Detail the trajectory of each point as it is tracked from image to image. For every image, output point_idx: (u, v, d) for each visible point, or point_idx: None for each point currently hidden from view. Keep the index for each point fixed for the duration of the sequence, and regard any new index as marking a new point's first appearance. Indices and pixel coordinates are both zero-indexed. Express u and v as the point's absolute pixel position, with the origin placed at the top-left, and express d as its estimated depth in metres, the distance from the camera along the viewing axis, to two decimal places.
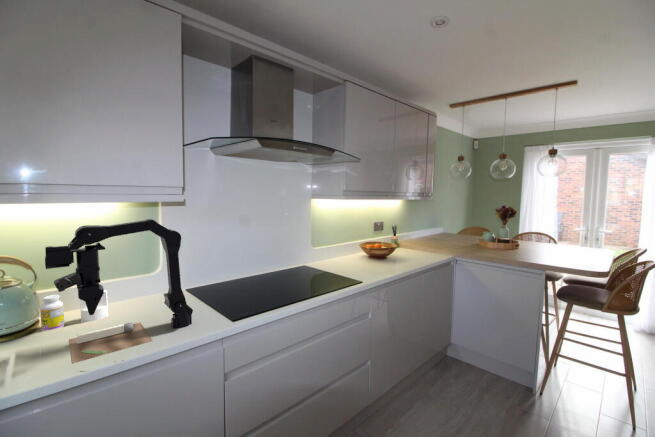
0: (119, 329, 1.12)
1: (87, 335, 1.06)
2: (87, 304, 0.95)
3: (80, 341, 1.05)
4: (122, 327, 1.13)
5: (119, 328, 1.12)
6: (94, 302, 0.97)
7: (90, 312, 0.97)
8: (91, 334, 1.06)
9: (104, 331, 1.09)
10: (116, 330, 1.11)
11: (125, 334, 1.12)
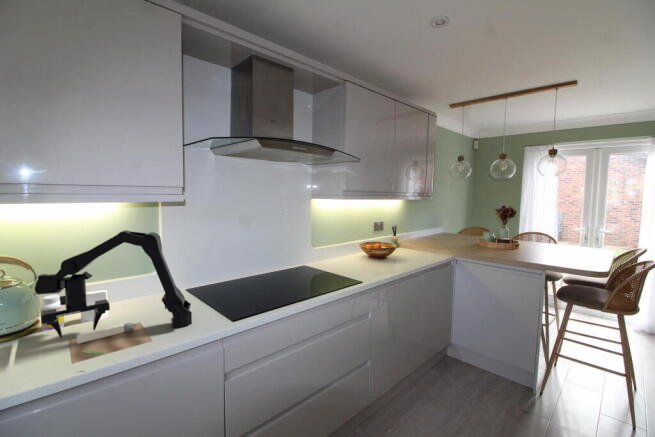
0: (119, 329, 1.12)
1: (87, 335, 1.06)
2: None
3: (80, 341, 1.05)
4: (122, 327, 1.13)
5: (119, 328, 1.12)
6: None
7: (59, 335, 1.06)
8: (91, 334, 1.06)
9: (104, 331, 1.09)
10: (116, 330, 1.11)
11: (125, 334, 1.12)
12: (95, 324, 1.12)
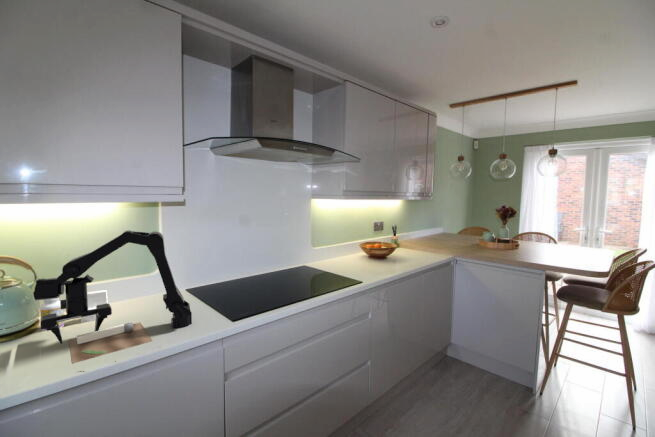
0: (120, 329, 1.12)
1: (87, 335, 1.05)
2: None
3: (80, 342, 1.04)
4: (122, 327, 1.13)
5: (119, 328, 1.12)
6: None
7: (59, 340, 1.03)
8: (91, 334, 1.06)
9: (104, 331, 1.09)
10: (117, 330, 1.11)
11: (125, 334, 1.12)
12: (97, 329, 1.08)
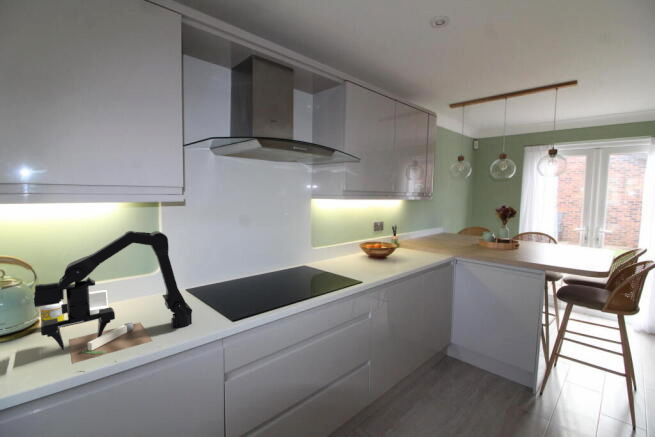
0: (123, 330, 1.12)
1: (99, 340, 1.02)
2: None
3: (94, 347, 1.01)
4: (125, 327, 1.12)
5: (123, 329, 1.11)
6: None
7: (60, 346, 0.99)
8: (102, 338, 1.03)
9: (112, 334, 1.07)
10: (121, 331, 1.11)
11: (125, 334, 1.12)
12: (99, 334, 1.04)
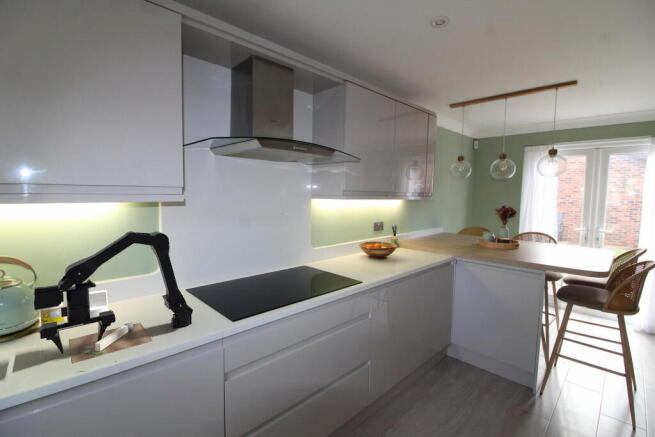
0: (125, 330, 1.12)
1: (106, 340, 1.02)
2: None
3: (102, 348, 1.01)
4: (126, 327, 1.12)
5: (125, 329, 1.12)
6: None
7: (60, 350, 0.97)
8: (108, 339, 1.03)
9: (116, 334, 1.07)
10: (123, 331, 1.11)
11: (125, 334, 1.12)
12: (99, 338, 1.02)
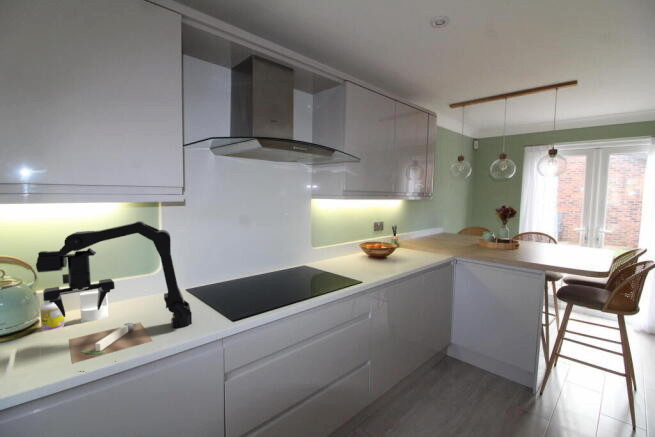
0: (125, 330, 1.12)
1: (106, 340, 1.02)
2: None
3: (102, 348, 1.01)
4: (126, 327, 1.12)
5: (125, 329, 1.12)
6: None
7: (62, 313, 1.02)
8: (108, 339, 1.03)
9: (116, 334, 1.07)
10: (123, 331, 1.11)
11: (125, 334, 1.12)
12: (99, 303, 1.08)
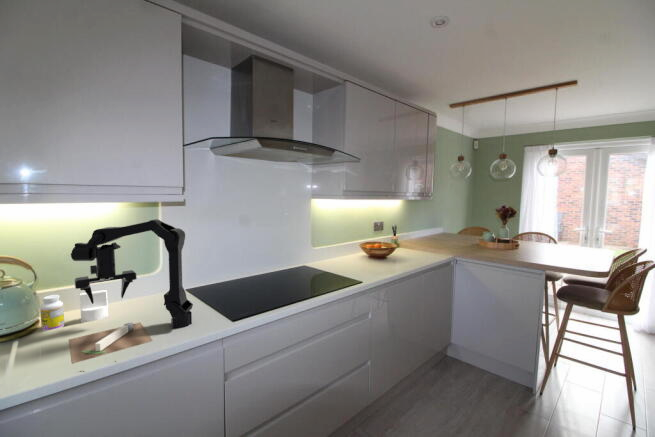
0: (125, 330, 1.12)
1: (106, 340, 1.02)
2: None
3: (102, 348, 1.01)
4: (126, 327, 1.12)
5: (125, 329, 1.12)
6: None
7: None
8: (108, 339, 1.03)
9: (116, 334, 1.07)
10: (123, 331, 1.11)
11: (125, 334, 1.12)
12: (123, 292, 1.19)
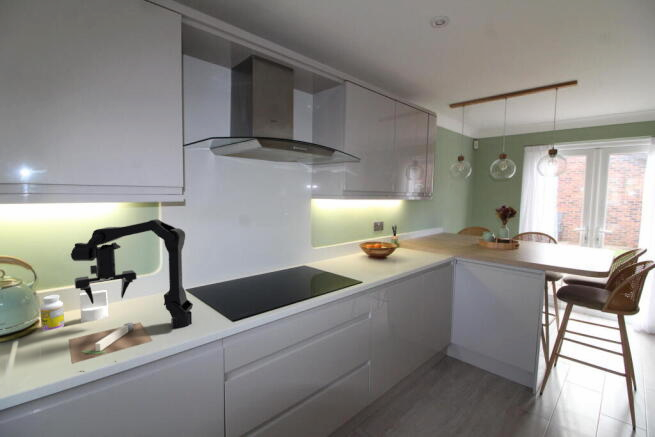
0: (125, 330, 1.12)
1: (106, 340, 1.02)
2: None
3: (102, 348, 1.01)
4: (126, 327, 1.12)
5: (125, 329, 1.12)
6: None
7: None
8: (108, 339, 1.03)
9: (116, 334, 1.07)
10: (123, 331, 1.11)
11: (125, 334, 1.12)
12: (123, 292, 1.19)
